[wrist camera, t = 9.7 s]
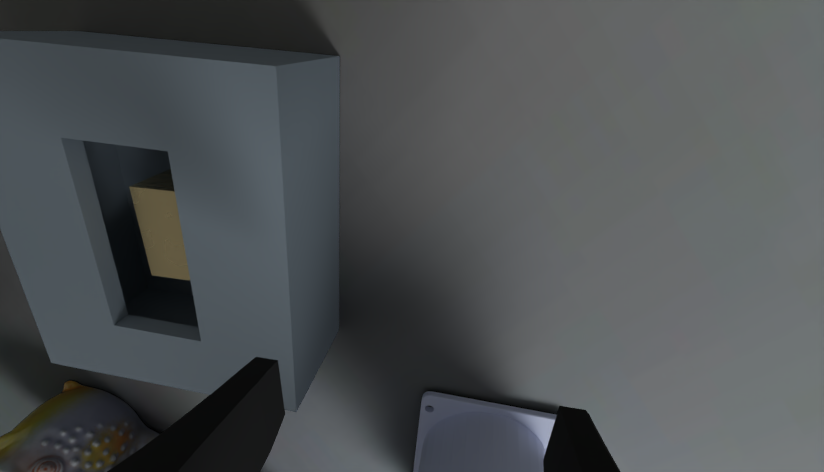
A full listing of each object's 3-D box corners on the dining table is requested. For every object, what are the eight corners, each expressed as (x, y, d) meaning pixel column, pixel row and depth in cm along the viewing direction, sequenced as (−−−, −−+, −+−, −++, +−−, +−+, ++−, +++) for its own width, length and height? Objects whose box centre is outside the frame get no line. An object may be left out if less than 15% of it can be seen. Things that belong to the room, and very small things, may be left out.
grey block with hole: (339, 329, 24) (296, 412, 19) (141, 294, 25) (51, 362, 20) (339, 55, 18) (275, 66, 13) (78, 31, 19) (-75, 31, 14)
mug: (64, 428, 33) (-31, 516, 27) (56, 365, 29) (-54, 449, 24) (212, 483, 32) (149, 585, 27) (220, 426, 29) (150, 527, 23)
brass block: (243, 240, 22) (194, 281, 18) (206, 235, 22) (151, 275, 18) (232, 163, 20) (176, 191, 16) (193, 159, 20) (128, 186, 17)
